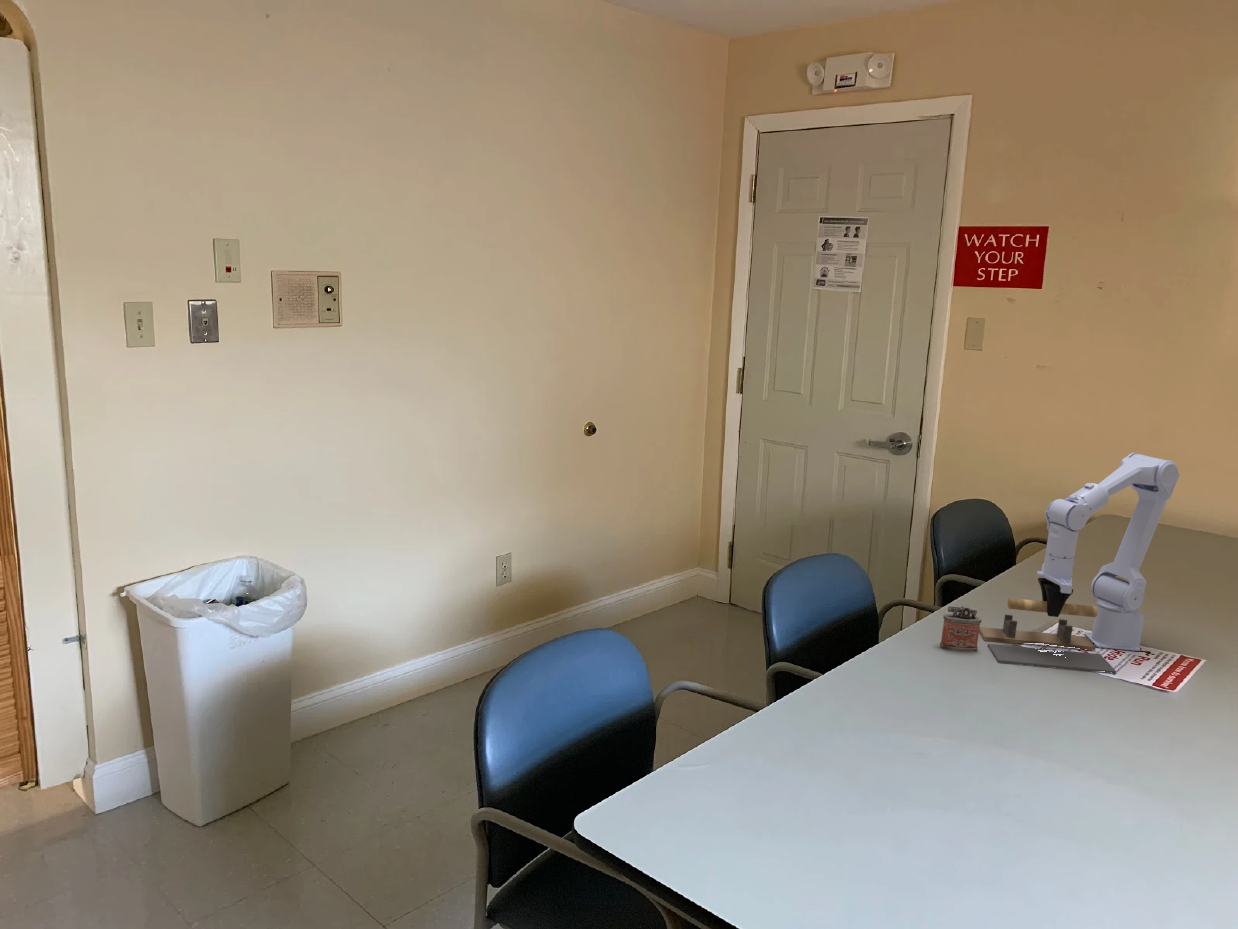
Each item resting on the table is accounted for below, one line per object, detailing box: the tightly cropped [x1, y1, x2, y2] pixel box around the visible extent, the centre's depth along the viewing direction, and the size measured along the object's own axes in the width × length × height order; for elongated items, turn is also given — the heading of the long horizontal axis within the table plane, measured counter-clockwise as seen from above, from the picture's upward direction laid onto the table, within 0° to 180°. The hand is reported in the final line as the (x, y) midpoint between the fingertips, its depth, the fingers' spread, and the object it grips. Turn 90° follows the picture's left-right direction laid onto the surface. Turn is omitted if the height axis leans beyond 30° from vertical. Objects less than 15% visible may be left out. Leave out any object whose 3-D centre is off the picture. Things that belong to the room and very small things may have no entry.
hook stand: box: [979, 614, 1097, 651], centre depth 208 cm, size 24×6×5 cm, turn 82°
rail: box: [1007, 597, 1098, 618], centre depth 199 cm, size 18×2×2 cm, turn 81°
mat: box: [987, 643, 1117, 674], centre depth 198 cm, size 24×9×1 cm, turn 82°
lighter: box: [939, 604, 983, 653], centre depth 201 cm, size 8×3×10 cm, turn 84°
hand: (1050, 613), depth 200 cm, fingers closed on rail, 2 cm apart
